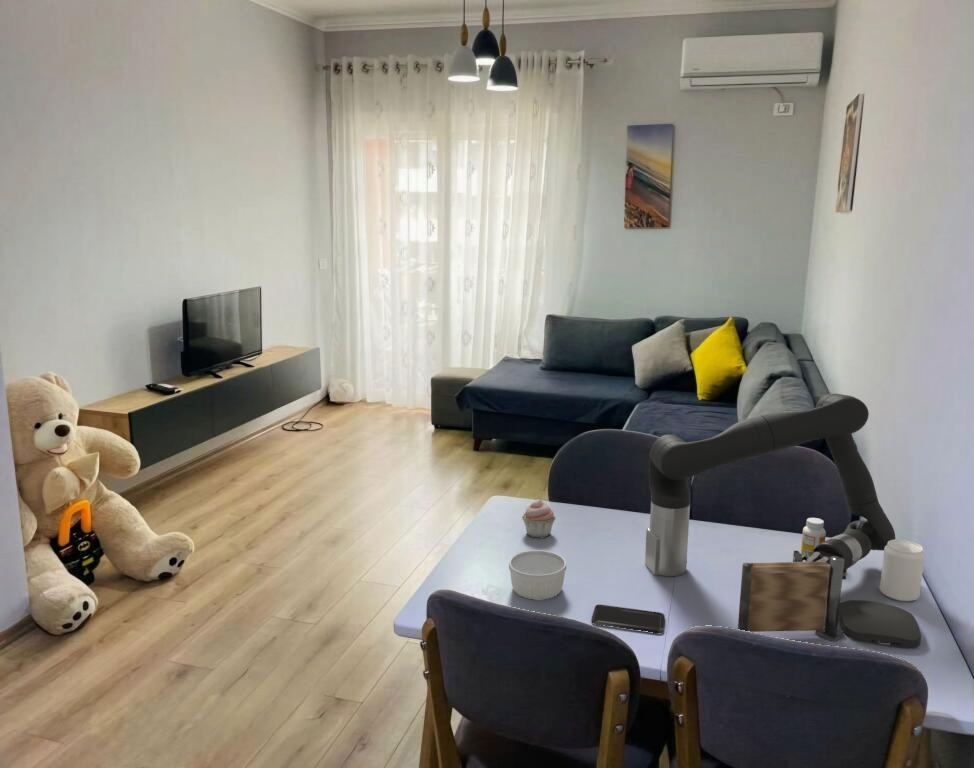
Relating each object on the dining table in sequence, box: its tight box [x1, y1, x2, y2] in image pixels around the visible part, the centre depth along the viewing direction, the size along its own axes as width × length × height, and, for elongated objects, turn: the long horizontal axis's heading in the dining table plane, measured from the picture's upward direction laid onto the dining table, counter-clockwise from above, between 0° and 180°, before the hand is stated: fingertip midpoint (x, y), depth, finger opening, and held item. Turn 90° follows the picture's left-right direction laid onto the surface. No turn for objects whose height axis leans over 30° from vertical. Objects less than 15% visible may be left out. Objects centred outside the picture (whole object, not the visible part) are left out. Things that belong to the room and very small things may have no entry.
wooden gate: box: [737, 561, 830, 633], centre depth 159 cm, size 18×2×14 cm, turn 92°
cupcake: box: [521, 498, 557, 538], centre depth 211 cm, size 9×9×10 cm
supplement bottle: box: [800, 517, 827, 555], centre depth 197 cm, size 5×5×10 cm
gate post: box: [814, 556, 845, 643], centre depth 167 cm, size 22×6×17 cm, turn 40°
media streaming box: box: [838, 599, 922, 650], centre depth 164 cm, size 15×15×3 cm
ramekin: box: [508, 549, 567, 601], centre depth 180 cm, size 13×13×7 cm
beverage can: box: [879, 539, 926, 602], centre depth 177 cm, size 8×8×12 cm
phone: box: [590, 604, 666, 634], centre depth 168 cm, size 8×1×15 cm
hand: (798, 576), depth 170 cm, fingers closed
